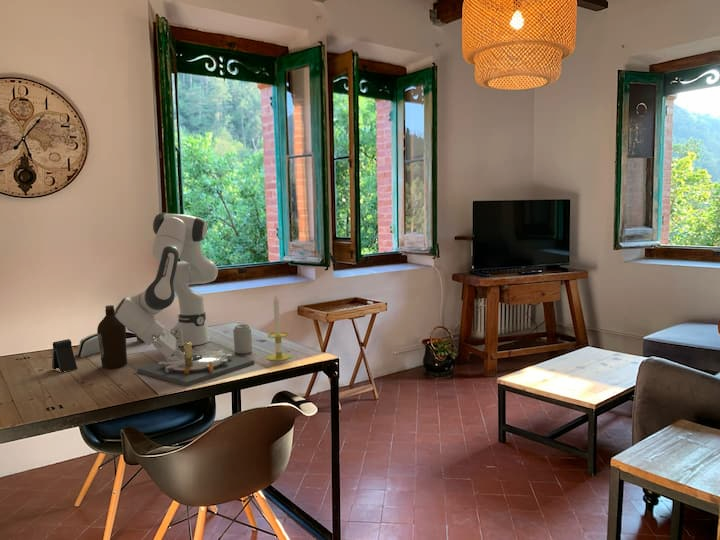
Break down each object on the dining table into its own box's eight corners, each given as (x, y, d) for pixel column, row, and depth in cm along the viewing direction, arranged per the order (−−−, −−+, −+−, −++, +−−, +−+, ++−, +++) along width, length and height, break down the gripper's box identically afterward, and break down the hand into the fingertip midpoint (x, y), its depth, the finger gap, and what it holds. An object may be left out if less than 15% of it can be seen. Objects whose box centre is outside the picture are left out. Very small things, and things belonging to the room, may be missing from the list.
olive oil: (128, 360, 233) (123, 302, 230) (129, 367, 223) (124, 306, 220) (100, 364, 228) (95, 305, 225) (100, 371, 219) (94, 309, 216)
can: (254, 350, 243) (252, 323, 242) (249, 354, 236) (247, 327, 235) (237, 350, 244) (236, 323, 243) (232, 354, 237) (230, 327, 235)
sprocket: (144, 368, 214) (142, 340, 213) (200, 351, 237) (198, 326, 236) (191, 377, 199) (189, 348, 198) (245, 359, 222) (244, 332, 221)
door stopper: (77, 369, 222) (74, 340, 221) (62, 373, 217) (59, 343, 216) (67, 366, 227) (64, 337, 226) (51, 369, 223) (49, 340, 221)
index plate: (137, 372, 215) (136, 358, 215) (204, 353, 241) (203, 341, 240) (186, 386, 196) (185, 371, 195) (254, 363, 221) (253, 350, 221)
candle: (294, 354, 233) (291, 292, 230) (285, 361, 224) (282, 296, 220) (273, 353, 236) (269, 292, 233) (263, 360, 226) (259, 295, 223)
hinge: (106, 347, 258) (109, 328, 255) (113, 351, 256) (116, 332, 253) (74, 356, 243) (77, 336, 240) (81, 360, 241) (84, 340, 238)
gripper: (157, 332, 193) (188, 357, 197) (161, 321, 213) (188, 344, 216) (145, 345, 192) (175, 370, 196) (149, 333, 212) (177, 356, 216)
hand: (182, 356), depth 206 cm, fingers closed, pressing on sprocket
